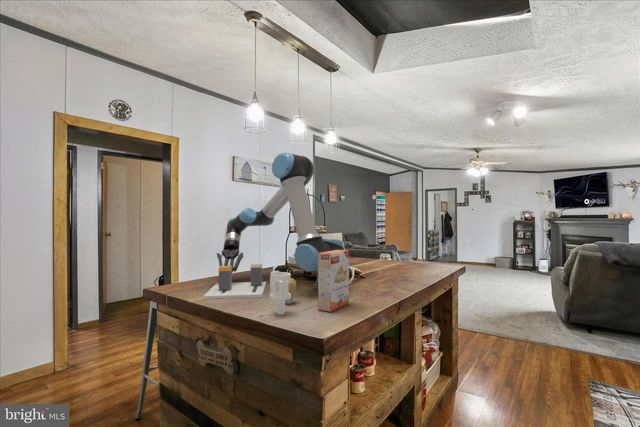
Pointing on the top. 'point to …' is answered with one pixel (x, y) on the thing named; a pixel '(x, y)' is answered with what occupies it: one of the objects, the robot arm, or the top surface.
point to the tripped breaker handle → (225, 277)
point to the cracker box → (333, 280)
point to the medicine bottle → (277, 268)
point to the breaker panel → (236, 291)
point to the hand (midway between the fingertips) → (226, 283)
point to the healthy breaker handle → (256, 274)
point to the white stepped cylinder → (280, 290)
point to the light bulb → (291, 289)
